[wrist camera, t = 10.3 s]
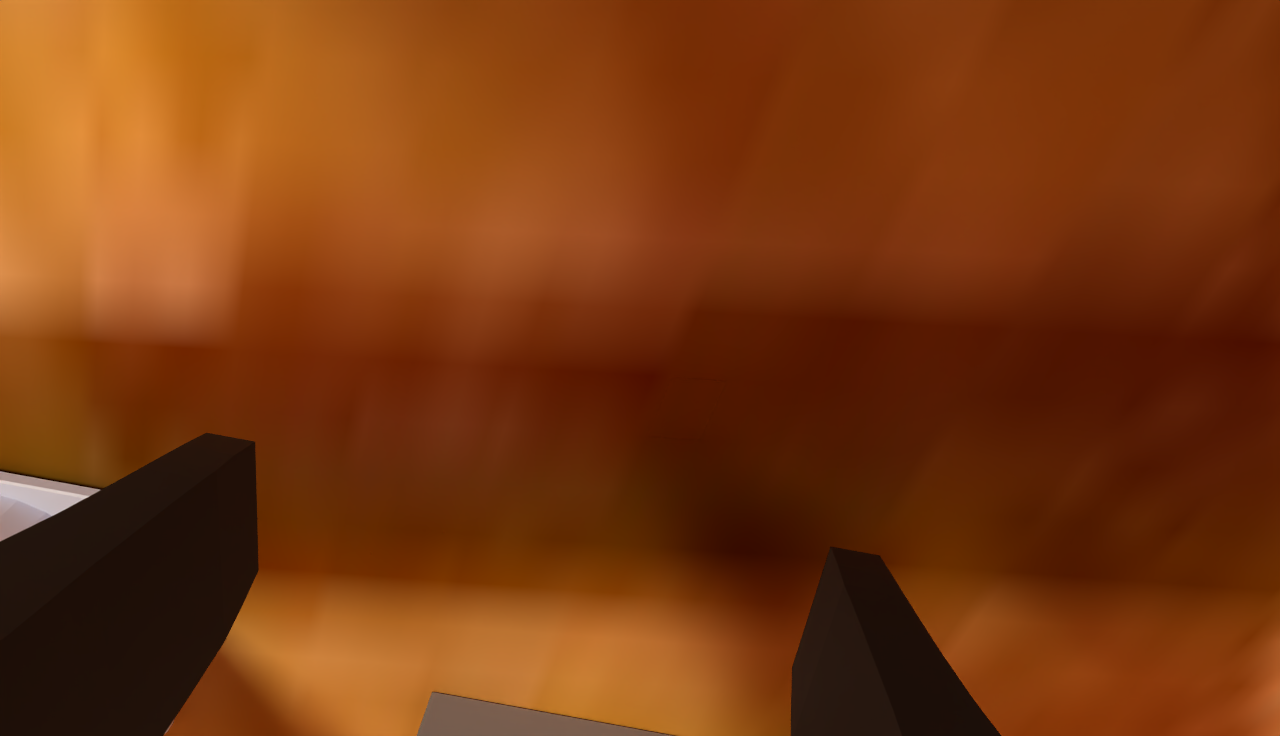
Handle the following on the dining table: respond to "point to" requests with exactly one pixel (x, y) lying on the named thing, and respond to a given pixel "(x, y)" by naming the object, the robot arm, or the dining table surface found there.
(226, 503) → the robot arm
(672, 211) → the dining table surface
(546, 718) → the plinth
